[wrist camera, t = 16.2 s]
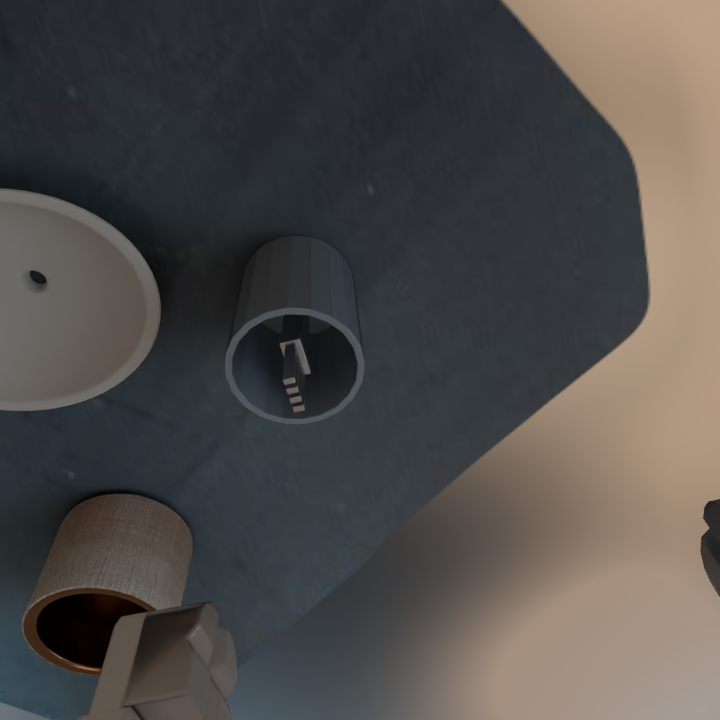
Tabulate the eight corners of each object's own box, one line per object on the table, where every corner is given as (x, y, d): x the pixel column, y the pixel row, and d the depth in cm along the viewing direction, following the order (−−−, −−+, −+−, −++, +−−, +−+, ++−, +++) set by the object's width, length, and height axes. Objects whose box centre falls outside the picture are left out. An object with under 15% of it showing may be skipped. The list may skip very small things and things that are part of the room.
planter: (73, 577, 58) (35, 679, 50) (51, 486, 52) (4, 586, 44) (197, 577, 59) (180, 677, 51) (190, 488, 53) (168, 586, 45)
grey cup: (340, 223, 42) (347, 294, 34) (364, 323, 46) (376, 408, 38) (225, 249, 42) (205, 326, 34) (260, 346, 47) (249, 435, 38)
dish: (119, 129, 38) (95, 153, 34) (208, 334, 46) (198, 374, 42) (-157, 205, 39) (-213, 237, 35) (-25, 392, 47) (-58, 436, 43)
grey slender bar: (301, 272, 43) (299, 374, 33) (311, 304, 44) (311, 411, 34) (284, 276, 43) (275, 379, 33) (294, 307, 44) (289, 415, 34)
